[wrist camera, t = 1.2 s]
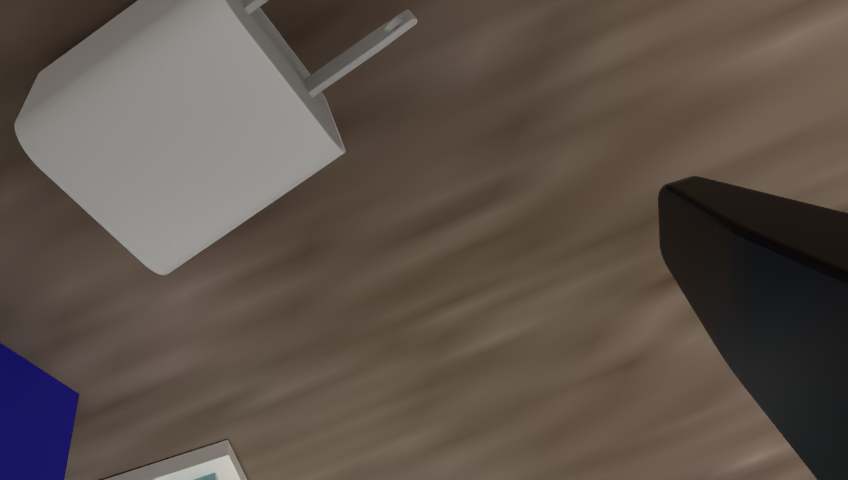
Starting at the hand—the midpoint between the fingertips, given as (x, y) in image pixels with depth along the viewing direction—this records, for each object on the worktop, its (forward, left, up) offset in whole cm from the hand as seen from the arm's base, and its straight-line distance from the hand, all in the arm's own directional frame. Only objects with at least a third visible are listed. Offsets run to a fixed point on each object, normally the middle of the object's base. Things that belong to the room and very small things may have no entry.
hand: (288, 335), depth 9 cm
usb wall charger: (0, 0, -11) cm, 11 cm away
